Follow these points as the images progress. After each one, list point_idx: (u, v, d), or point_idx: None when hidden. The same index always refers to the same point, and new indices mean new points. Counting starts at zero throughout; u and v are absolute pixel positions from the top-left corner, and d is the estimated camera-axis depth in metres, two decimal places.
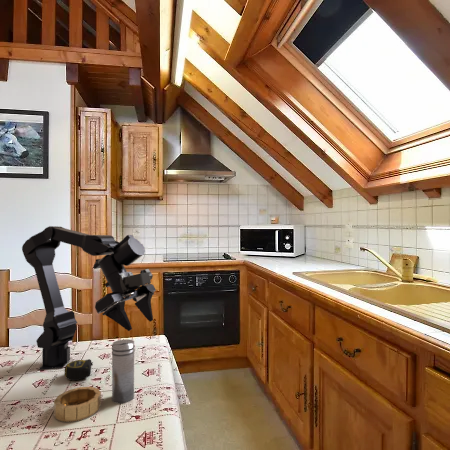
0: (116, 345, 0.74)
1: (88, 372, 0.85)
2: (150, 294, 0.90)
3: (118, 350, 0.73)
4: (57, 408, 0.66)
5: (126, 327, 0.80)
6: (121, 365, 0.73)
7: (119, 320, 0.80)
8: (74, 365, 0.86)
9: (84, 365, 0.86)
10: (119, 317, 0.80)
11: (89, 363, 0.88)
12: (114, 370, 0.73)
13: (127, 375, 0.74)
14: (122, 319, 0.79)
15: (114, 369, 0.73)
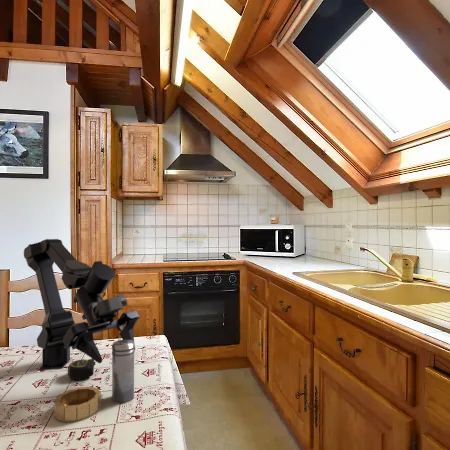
0: (116, 345, 0.74)
1: (91, 372, 0.85)
2: (131, 321, 0.83)
3: (118, 350, 0.73)
4: (57, 408, 0.66)
5: (96, 359, 0.73)
6: (121, 365, 0.73)
7: (89, 352, 0.74)
8: (77, 365, 0.86)
9: (87, 364, 0.86)
10: (89, 349, 0.74)
11: (92, 362, 0.88)
12: (114, 370, 0.73)
13: (127, 375, 0.74)
14: (91, 351, 0.74)
15: (114, 369, 0.73)
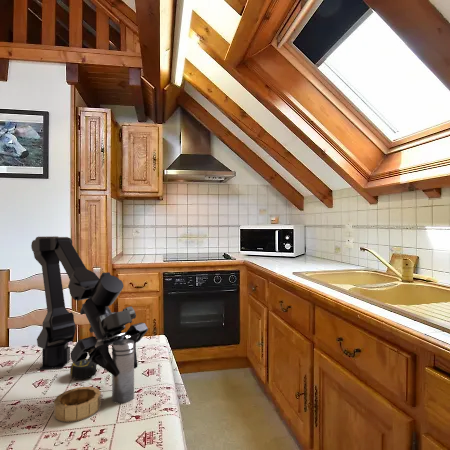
0: (116, 345, 0.74)
1: (93, 371, 0.85)
2: (133, 336, 0.80)
3: (118, 350, 0.73)
4: (57, 408, 0.66)
5: (112, 372, 0.73)
6: (121, 364, 0.73)
7: (105, 365, 0.73)
8: (80, 364, 0.86)
9: (90, 364, 0.87)
10: (104, 362, 0.73)
11: None
12: None
13: (127, 375, 0.74)
14: (107, 364, 0.73)
15: None
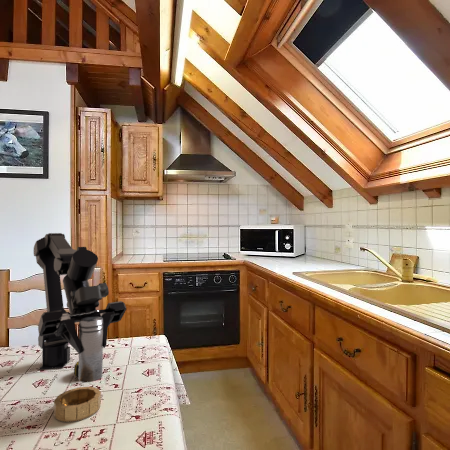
0: (82, 321, 0.70)
1: None
2: (106, 314, 0.75)
3: (82, 326, 0.69)
4: (57, 408, 0.66)
5: (76, 349, 0.69)
6: (85, 342, 0.69)
7: (70, 341, 0.70)
8: None
9: None
10: (70, 338, 0.71)
11: None
12: None
13: (92, 353, 0.70)
14: (72, 339, 0.70)
15: None
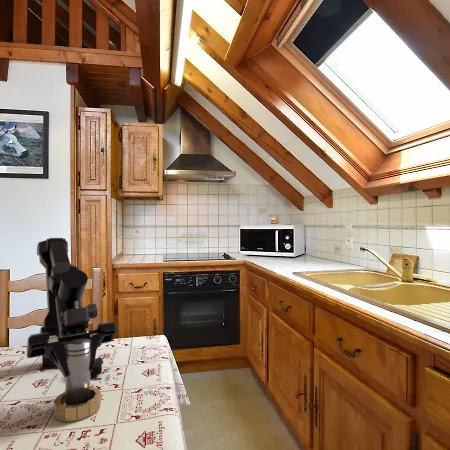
0: (68, 344, 0.69)
1: (99, 370, 0.86)
2: (95, 336, 0.74)
3: (68, 349, 0.68)
4: (57, 408, 0.66)
5: (62, 373, 0.68)
6: (71, 365, 0.68)
7: (57, 364, 0.70)
8: None
9: (95, 363, 0.87)
10: (57, 360, 0.70)
11: (100, 361, 0.89)
12: None
13: (78, 377, 0.68)
14: (58, 362, 0.69)
15: None
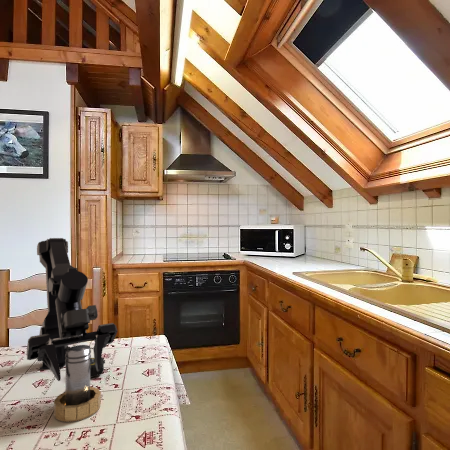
0: (68, 351, 0.69)
1: (101, 370, 0.86)
2: (101, 336, 0.75)
3: (68, 357, 0.68)
4: (57, 408, 0.66)
5: (56, 376, 0.67)
6: (71, 373, 0.68)
7: (51, 367, 0.69)
8: None
9: None
10: (51, 364, 0.69)
11: (102, 361, 0.90)
12: None
13: (78, 384, 0.68)
14: (52, 366, 0.68)
15: None
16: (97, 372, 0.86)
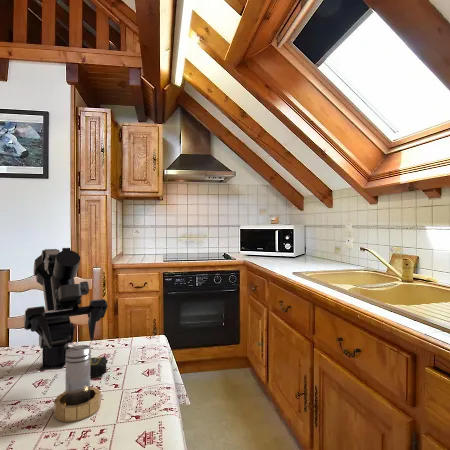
0: (68, 351, 0.69)
1: (104, 369, 0.87)
2: (94, 309, 0.82)
3: (68, 356, 0.68)
4: (57, 408, 0.66)
5: (47, 344, 0.74)
6: (71, 372, 0.68)
7: (43, 336, 0.75)
8: (90, 362, 0.88)
9: (100, 362, 0.88)
10: (43, 333, 0.75)
11: (104, 360, 0.90)
12: (66, 377, 0.69)
13: (78, 384, 0.68)
14: (44, 335, 0.75)
15: (66, 376, 0.69)
16: (100, 371, 0.86)
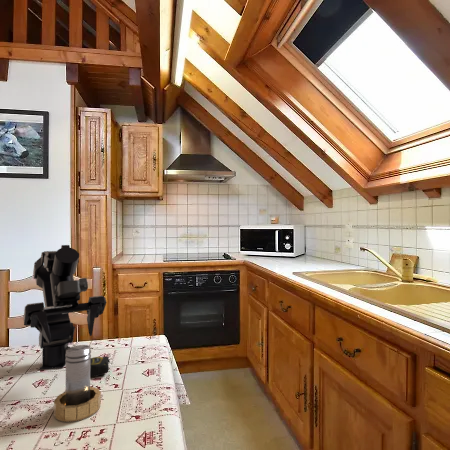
0: (68, 351, 0.69)
1: (106, 369, 0.87)
2: (93, 306, 0.83)
3: (68, 356, 0.68)
4: (57, 408, 0.66)
5: (47, 339, 0.75)
6: (71, 372, 0.68)
7: (42, 332, 0.76)
8: (93, 362, 0.88)
9: (102, 362, 0.88)
10: (42, 329, 0.76)
11: (107, 360, 0.90)
12: (66, 377, 0.69)
13: (78, 384, 0.68)
14: (43, 330, 0.75)
15: (66, 376, 0.69)
16: (102, 371, 0.86)
